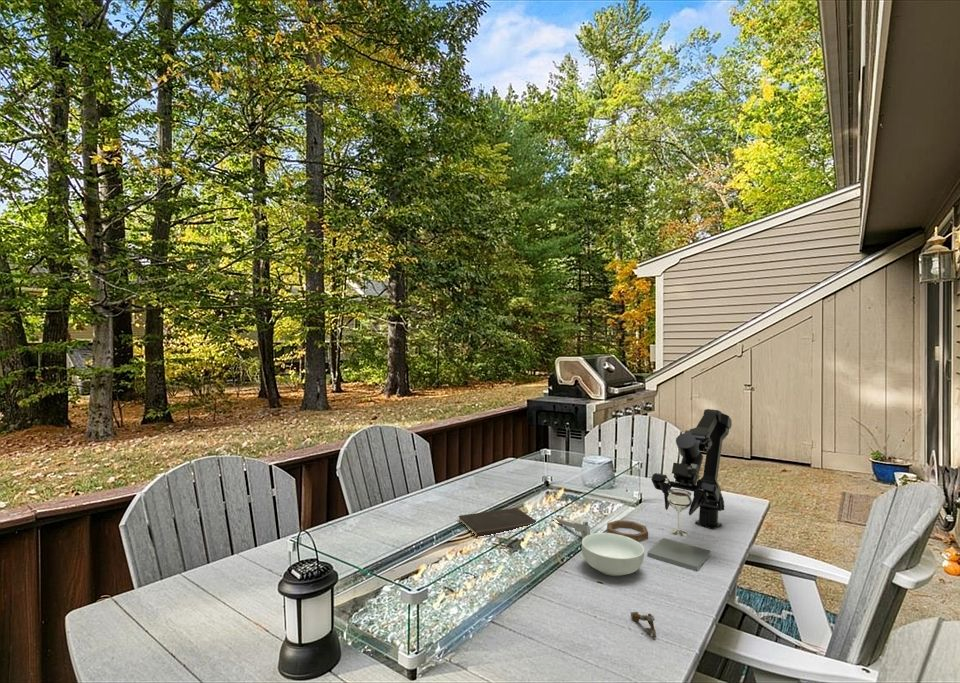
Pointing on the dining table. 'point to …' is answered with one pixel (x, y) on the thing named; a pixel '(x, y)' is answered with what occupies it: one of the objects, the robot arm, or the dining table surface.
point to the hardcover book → (496, 521)
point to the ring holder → (631, 525)
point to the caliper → (576, 526)
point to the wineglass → (679, 506)
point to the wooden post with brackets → (649, 618)
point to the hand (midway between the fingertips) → (677, 511)
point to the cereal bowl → (612, 553)
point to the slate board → (679, 554)
